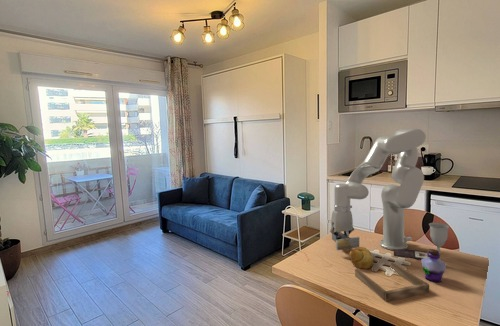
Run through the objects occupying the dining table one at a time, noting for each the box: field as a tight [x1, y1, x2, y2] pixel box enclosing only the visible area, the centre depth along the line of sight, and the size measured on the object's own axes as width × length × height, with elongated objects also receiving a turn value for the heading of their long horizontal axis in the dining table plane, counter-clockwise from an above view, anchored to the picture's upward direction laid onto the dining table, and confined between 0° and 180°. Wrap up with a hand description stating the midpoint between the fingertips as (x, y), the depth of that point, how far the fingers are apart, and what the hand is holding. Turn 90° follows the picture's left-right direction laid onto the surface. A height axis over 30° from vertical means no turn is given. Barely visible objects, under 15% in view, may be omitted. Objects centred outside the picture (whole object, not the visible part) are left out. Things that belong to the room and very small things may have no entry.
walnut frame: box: [354, 262, 430, 303], centre depth 107 cm, size 18×18×3 cm
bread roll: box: [349, 246, 374, 269], centre depth 124 cm, size 13×10×8 cm
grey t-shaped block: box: [331, 229, 360, 251], centre depth 139 cm, size 12×13×5 cm
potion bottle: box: [420, 248, 447, 284], centre depth 108 cm, size 9×9×12 cm
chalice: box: [428, 222, 450, 261], centre depth 118 cm, size 7×7×18 cm
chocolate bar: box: [393, 248, 429, 261], centre depth 130 cm, size 9×1×18 cm
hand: (341, 243), depth 139 cm, fingers closed on grey t-shaped block, 3 cm apart
